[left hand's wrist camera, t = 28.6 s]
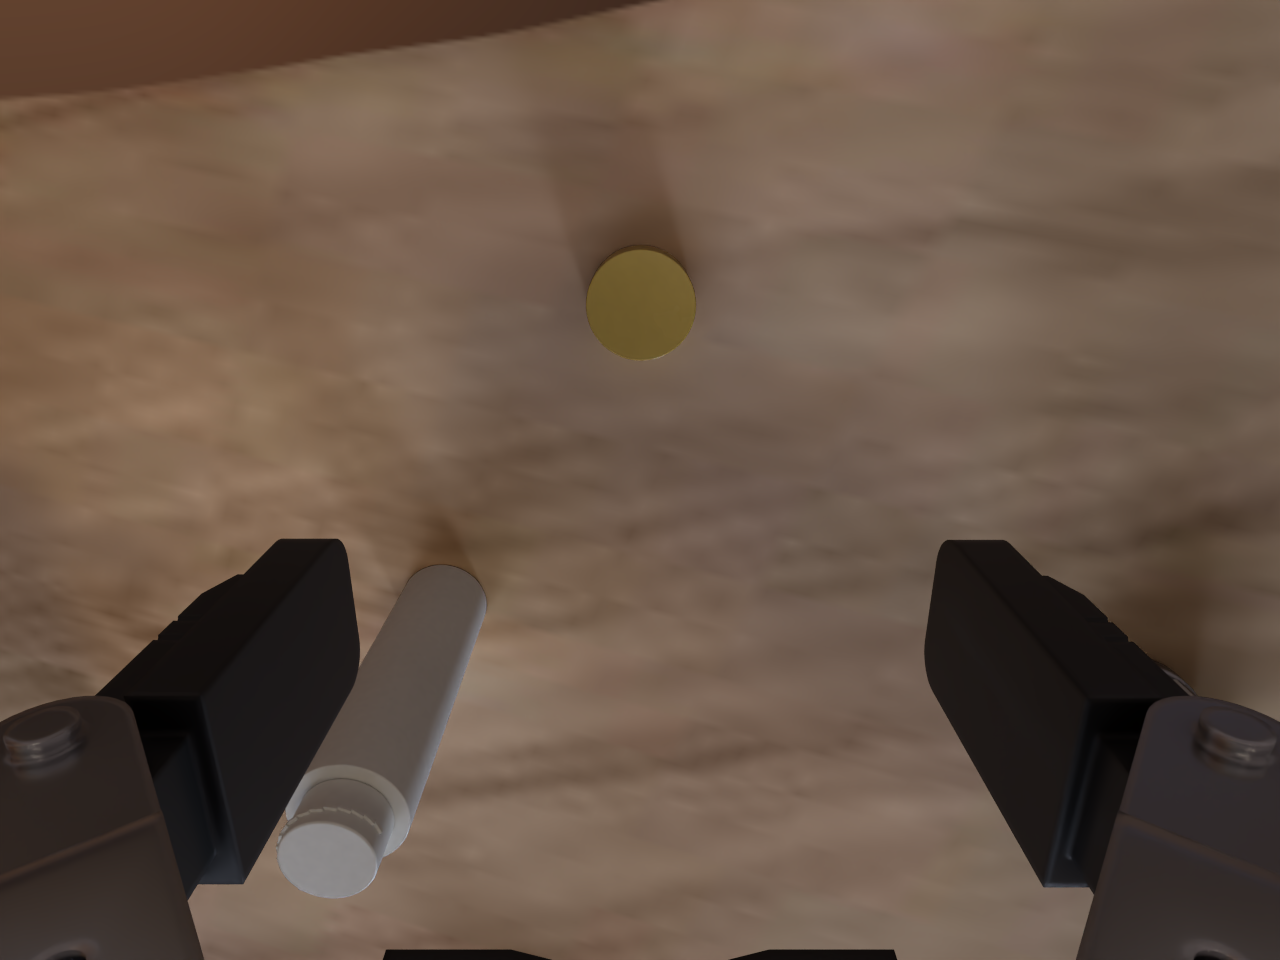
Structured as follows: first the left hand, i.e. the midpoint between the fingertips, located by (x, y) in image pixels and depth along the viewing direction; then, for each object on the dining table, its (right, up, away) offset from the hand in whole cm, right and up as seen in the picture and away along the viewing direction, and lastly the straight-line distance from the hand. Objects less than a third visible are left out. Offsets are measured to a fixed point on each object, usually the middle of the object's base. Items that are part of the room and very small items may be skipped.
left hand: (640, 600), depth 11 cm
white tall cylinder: (-10, -5, +31) cm, 33 cm away
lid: (0, +9, +24) cm, 26 cm away
